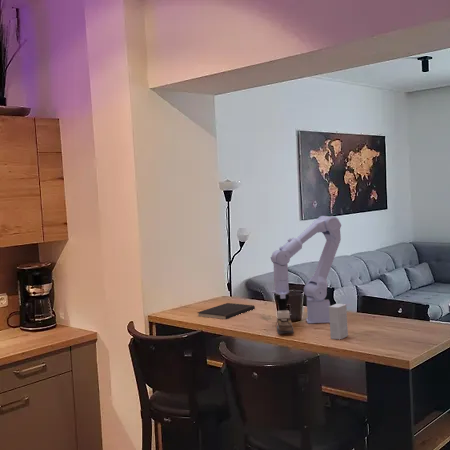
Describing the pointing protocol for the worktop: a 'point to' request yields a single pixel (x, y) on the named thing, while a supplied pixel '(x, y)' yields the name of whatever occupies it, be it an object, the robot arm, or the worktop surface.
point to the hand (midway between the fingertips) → (282, 313)
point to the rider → (283, 315)
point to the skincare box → (338, 321)
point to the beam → (284, 326)
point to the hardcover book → (226, 311)
